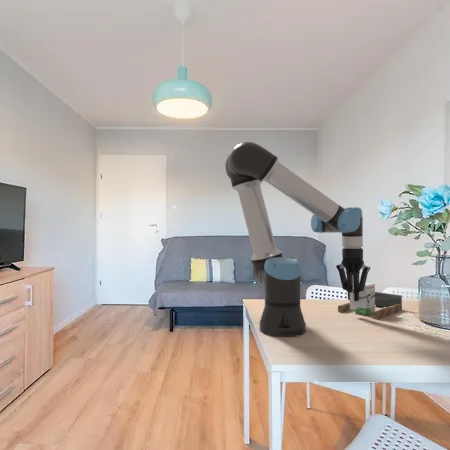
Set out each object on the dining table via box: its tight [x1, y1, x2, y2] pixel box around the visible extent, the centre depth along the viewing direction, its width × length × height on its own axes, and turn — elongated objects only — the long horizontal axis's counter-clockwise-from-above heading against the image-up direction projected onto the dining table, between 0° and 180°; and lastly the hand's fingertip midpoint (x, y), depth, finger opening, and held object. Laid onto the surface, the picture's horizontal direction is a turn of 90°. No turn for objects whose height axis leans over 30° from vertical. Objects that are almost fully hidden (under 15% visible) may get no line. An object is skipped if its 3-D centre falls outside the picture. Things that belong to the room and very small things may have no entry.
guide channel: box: [337, 291, 403, 320], centre depth 139 cm, size 24×16×6 cm
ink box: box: [354, 282, 376, 316], centre depth 136 cm, size 9×5×12 cm, turn 134°
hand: (353, 309), depth 129 cm, fingers closed
